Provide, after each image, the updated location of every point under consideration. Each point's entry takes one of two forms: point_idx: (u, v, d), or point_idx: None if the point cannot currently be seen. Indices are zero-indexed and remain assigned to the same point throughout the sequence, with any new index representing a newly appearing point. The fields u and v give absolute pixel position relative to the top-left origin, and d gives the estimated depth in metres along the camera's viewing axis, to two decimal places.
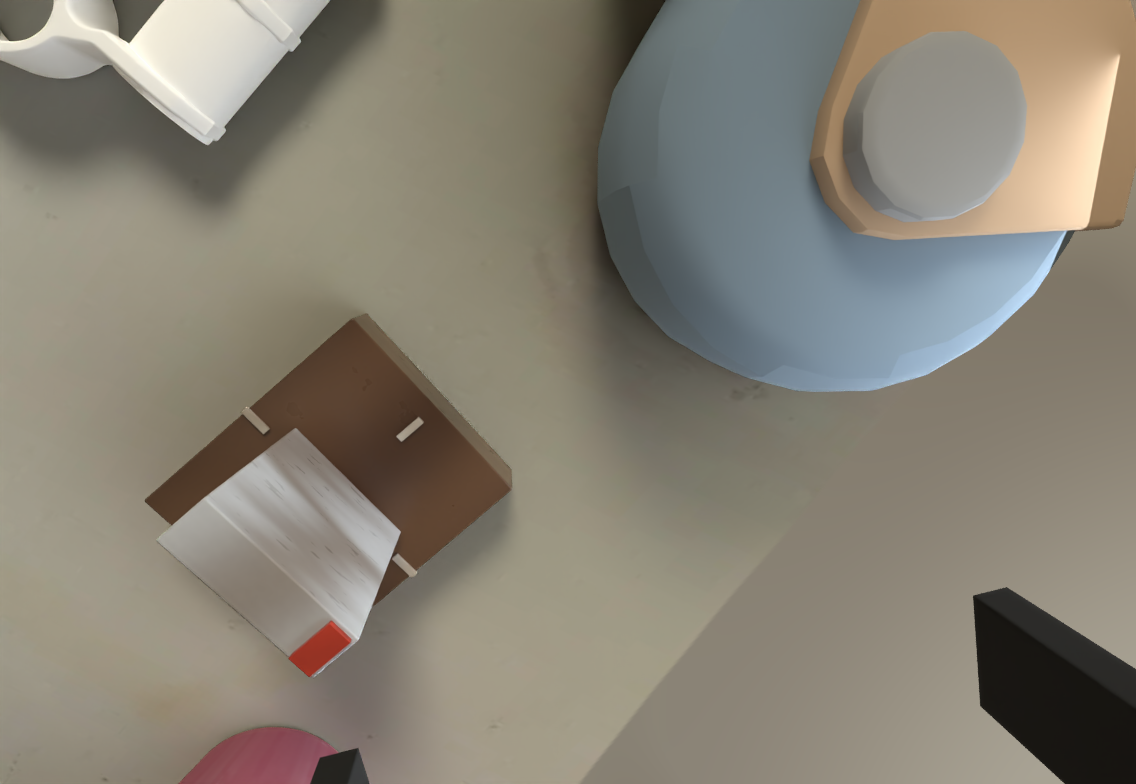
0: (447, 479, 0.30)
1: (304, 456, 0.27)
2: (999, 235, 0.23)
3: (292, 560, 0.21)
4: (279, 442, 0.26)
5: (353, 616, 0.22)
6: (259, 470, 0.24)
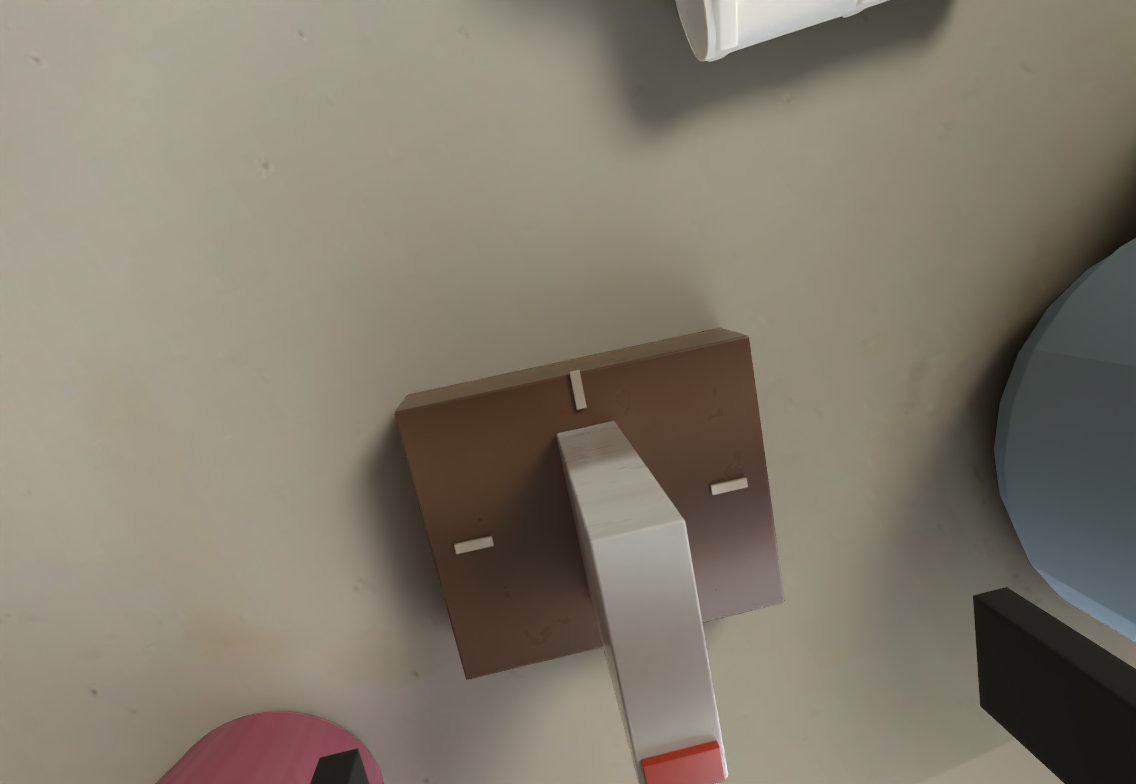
0: (729, 558, 0.24)
1: None
2: None
3: None
4: (627, 440, 0.20)
5: None
6: None
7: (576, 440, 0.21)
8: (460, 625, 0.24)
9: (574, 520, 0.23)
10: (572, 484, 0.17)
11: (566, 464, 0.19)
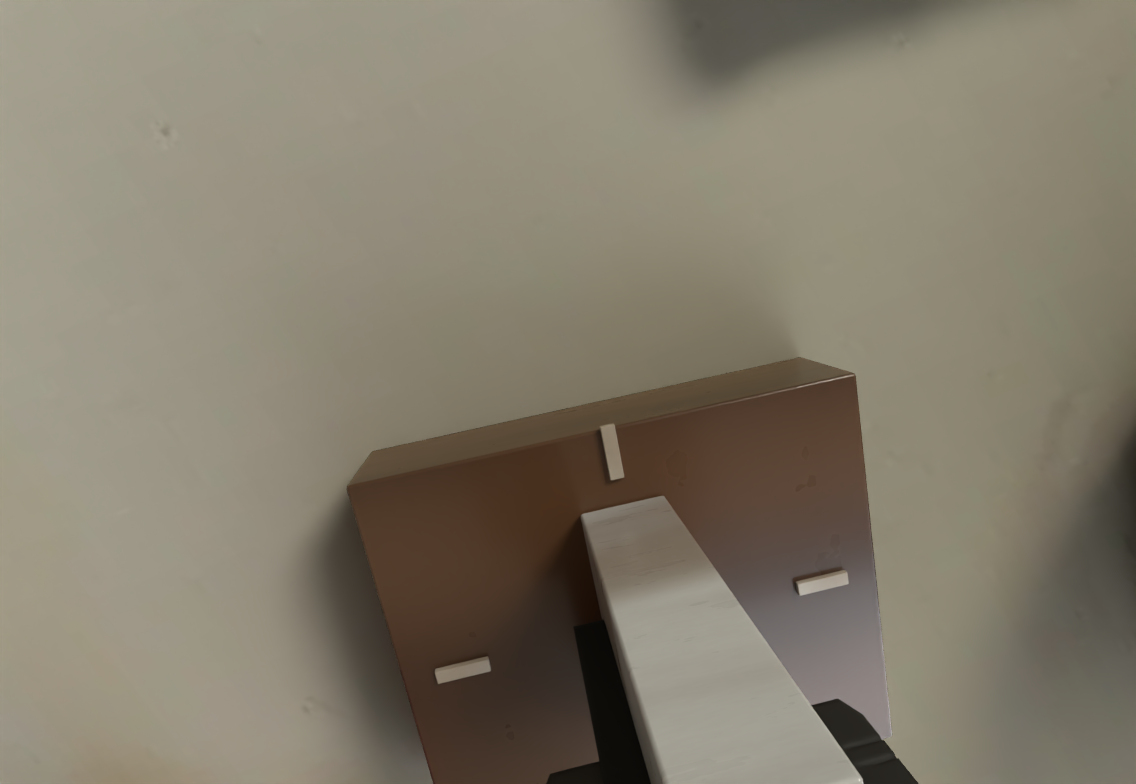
0: (818, 679, 0.17)
1: None
2: None
3: None
4: (691, 536, 0.13)
5: None
6: None
7: (612, 530, 0.14)
8: (444, 778, 0.17)
9: None
10: (619, 635, 0.10)
11: (603, 583, 0.12)
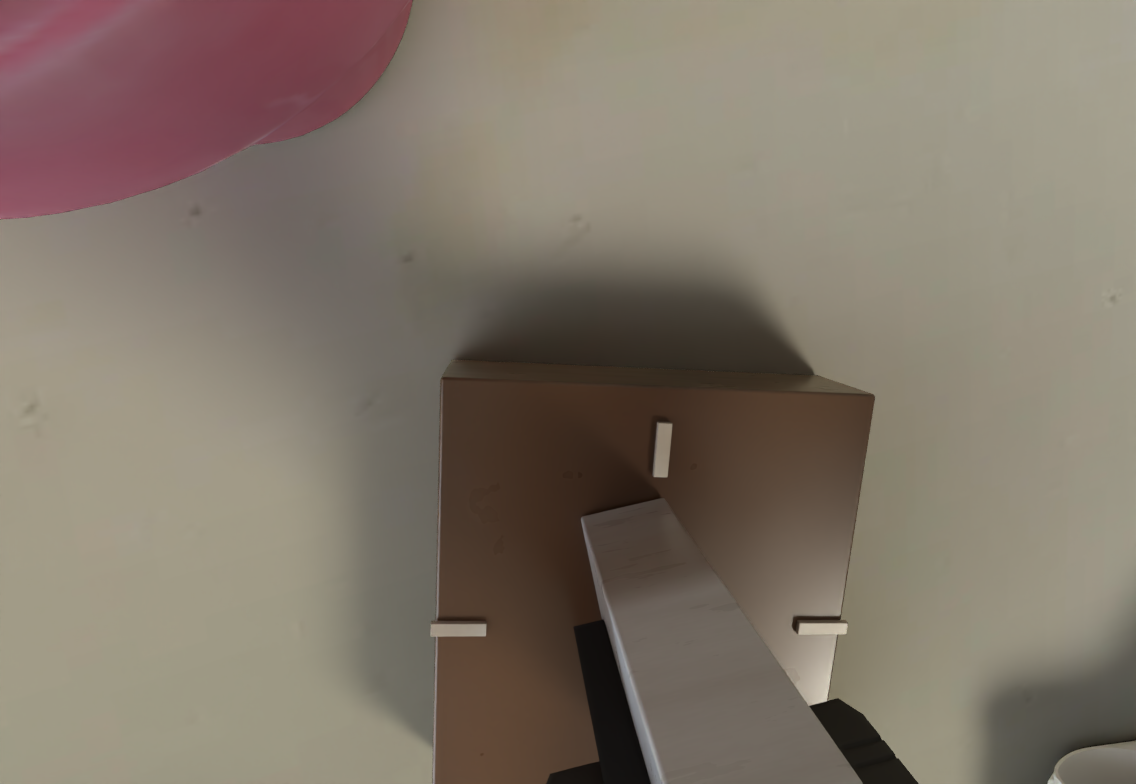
0: (525, 775, 0.17)
1: None
2: None
3: None
4: (691, 538, 0.13)
5: None
6: None
7: (612, 533, 0.14)
8: (540, 395, 0.15)
9: None
10: (619, 638, 0.10)
11: (603, 586, 0.12)
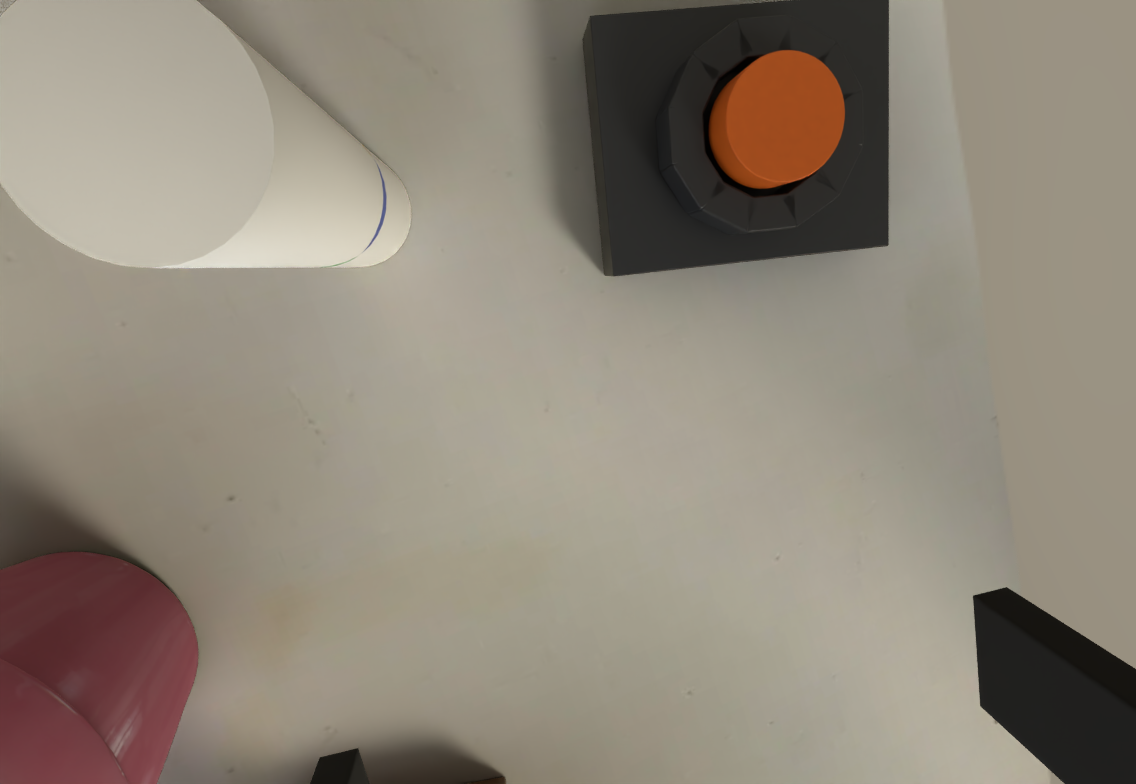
0: None
1: None
2: None
3: None
4: None
5: None
6: None
7: None
8: None
9: None
10: None
11: None
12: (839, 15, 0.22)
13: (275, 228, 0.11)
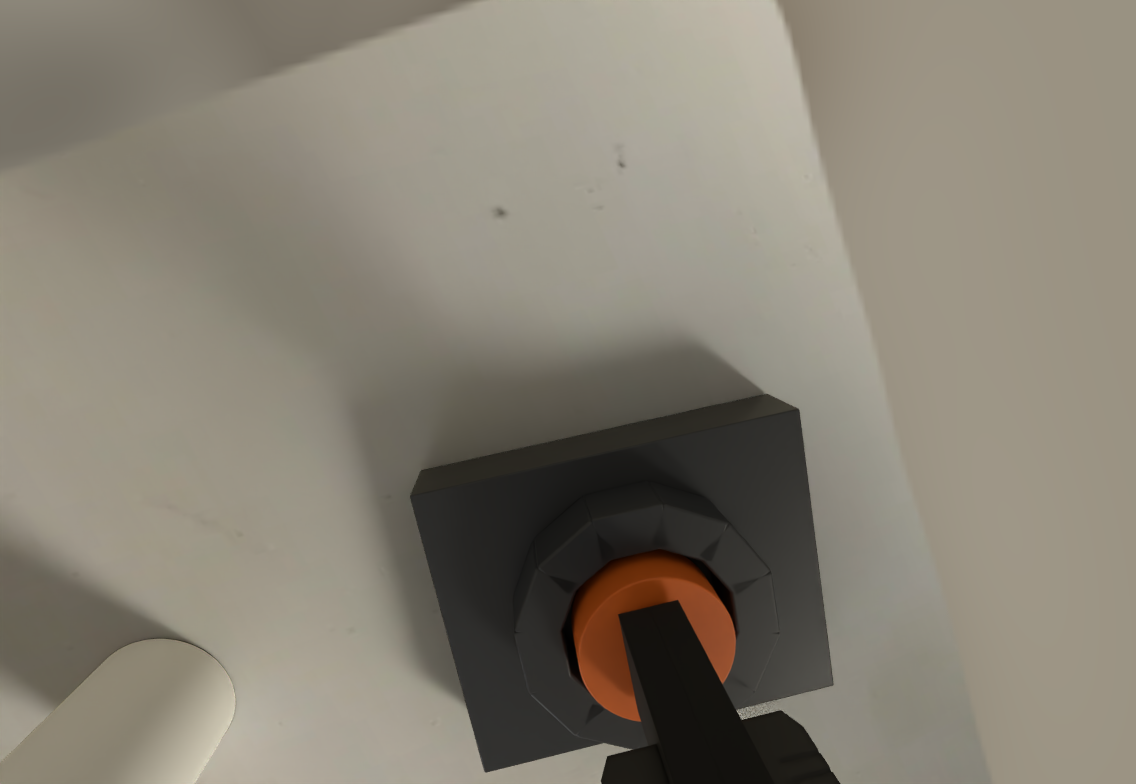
0: None
1: None
2: None
3: None
4: None
5: None
6: None
7: None
8: None
9: None
10: None
11: None
12: (737, 444, 0.17)
13: None
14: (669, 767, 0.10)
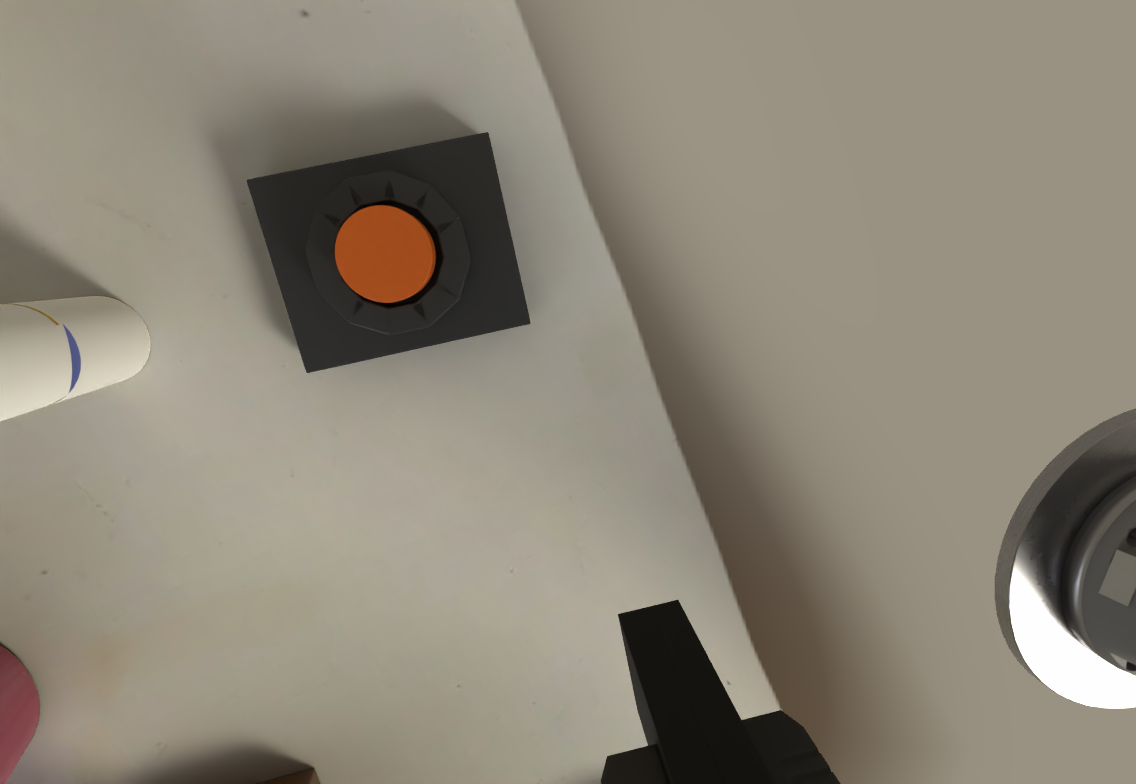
0: None
1: None
2: None
3: None
4: None
5: None
6: None
7: None
8: None
9: None
10: None
11: None
12: (450, 154, 0.28)
13: None
14: (669, 767, 0.10)
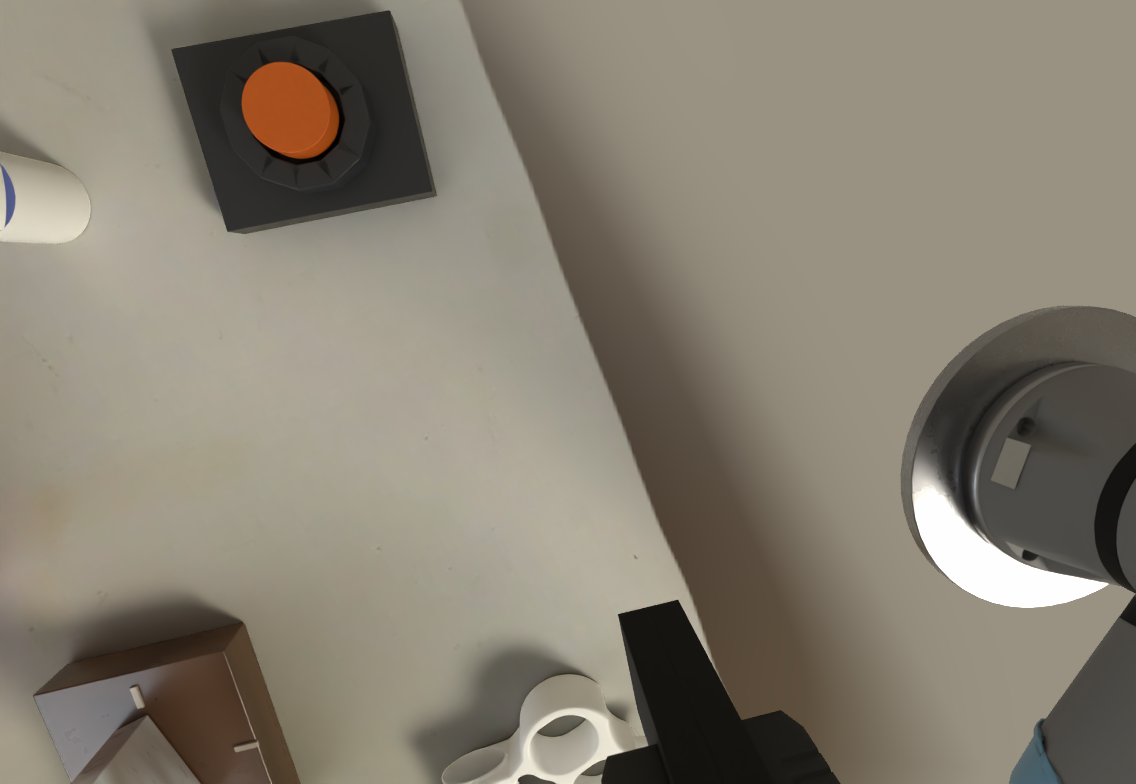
0: None
1: (143, 751, 0.35)
2: None
3: None
4: (124, 744, 0.34)
5: None
6: None
7: (108, 743, 0.35)
8: (76, 690, 0.36)
9: None
10: None
11: (74, 779, 0.33)
12: (355, 30, 0.32)
13: None
14: (669, 767, 0.10)
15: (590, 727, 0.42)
